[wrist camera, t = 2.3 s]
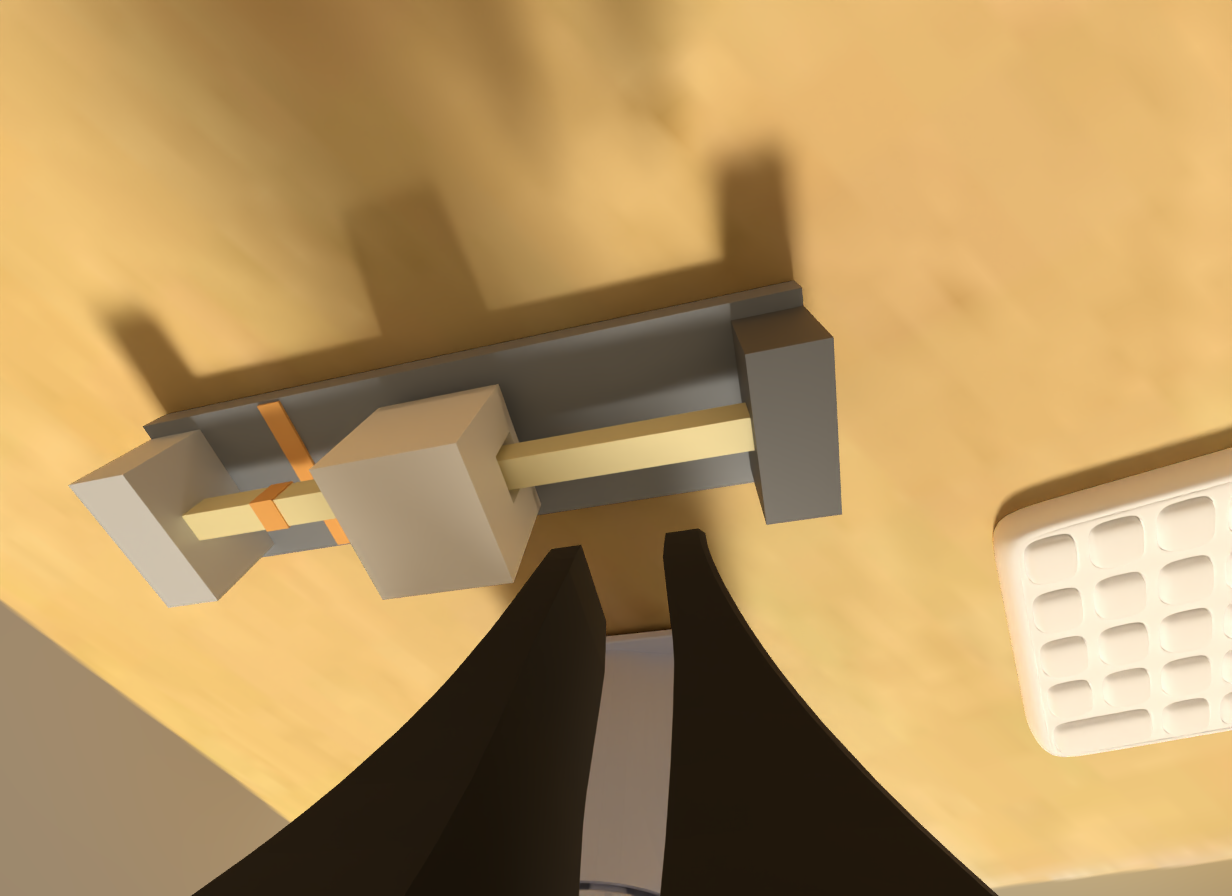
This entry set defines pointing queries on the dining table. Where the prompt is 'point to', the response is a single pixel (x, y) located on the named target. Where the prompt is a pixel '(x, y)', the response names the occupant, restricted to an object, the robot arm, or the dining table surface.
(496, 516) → the beige sliding bead
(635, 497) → the cord board
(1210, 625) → the calculator
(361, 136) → the dining table surface
